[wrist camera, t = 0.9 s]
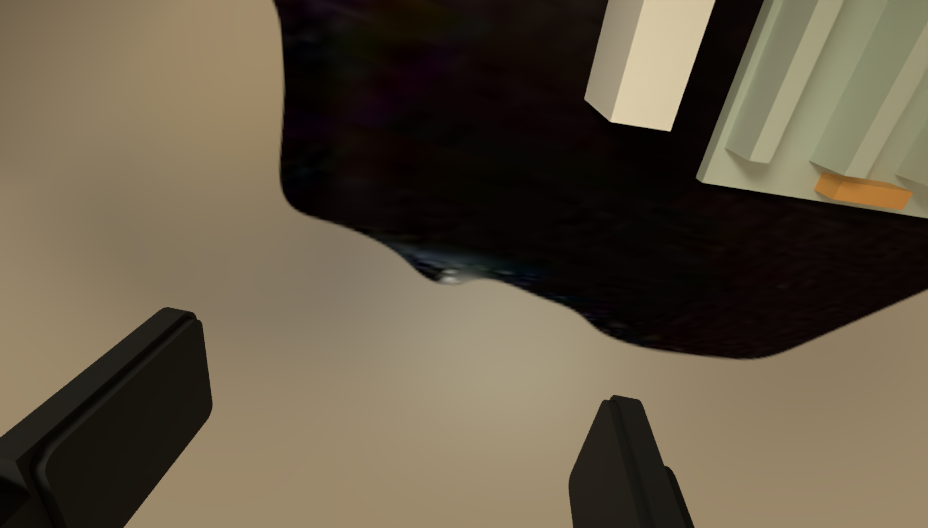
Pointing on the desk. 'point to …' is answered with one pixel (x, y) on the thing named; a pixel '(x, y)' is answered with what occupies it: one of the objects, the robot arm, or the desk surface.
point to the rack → (830, 106)
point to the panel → (646, 59)
